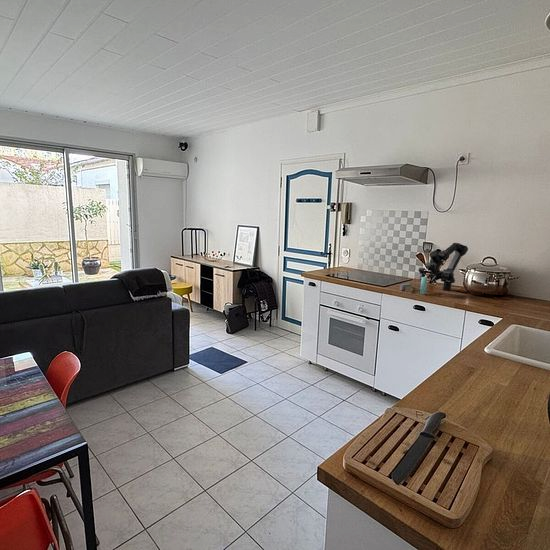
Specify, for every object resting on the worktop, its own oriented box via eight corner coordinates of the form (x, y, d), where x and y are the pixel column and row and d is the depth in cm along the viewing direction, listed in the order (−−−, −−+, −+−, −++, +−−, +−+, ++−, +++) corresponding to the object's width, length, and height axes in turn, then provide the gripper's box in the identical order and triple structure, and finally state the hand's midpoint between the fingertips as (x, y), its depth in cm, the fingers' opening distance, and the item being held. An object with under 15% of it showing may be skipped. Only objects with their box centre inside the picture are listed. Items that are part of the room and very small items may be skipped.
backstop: (410, 289, 274) (410, 283, 273) (401, 290, 269) (402, 284, 268) (408, 288, 276) (408, 283, 275) (399, 290, 271) (400, 284, 270)
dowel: (419, 293, 262) (421, 276, 260) (425, 293, 261) (427, 277, 258) (420, 294, 258) (421, 277, 256) (425, 294, 257) (427, 278, 255)
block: (419, 291, 267) (419, 287, 266) (411, 292, 262) (411, 289, 262) (412, 290, 272) (413, 286, 271) (405, 291, 267) (405, 287, 267)
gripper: (420, 256, 266) (410, 272, 262) (444, 260, 251) (433, 276, 247) (426, 266, 272) (415, 281, 268) (449, 270, 257) (438, 286, 252)
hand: (425, 281), depth 259 cm, fingers open, 9 cm apart
